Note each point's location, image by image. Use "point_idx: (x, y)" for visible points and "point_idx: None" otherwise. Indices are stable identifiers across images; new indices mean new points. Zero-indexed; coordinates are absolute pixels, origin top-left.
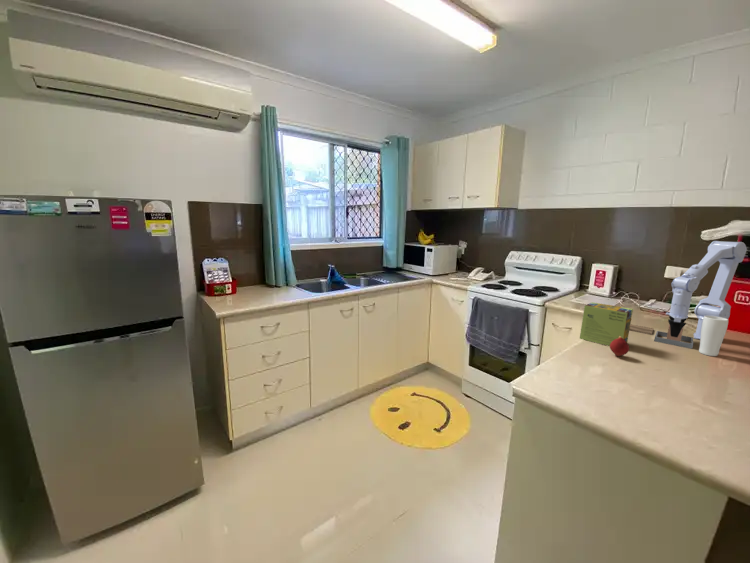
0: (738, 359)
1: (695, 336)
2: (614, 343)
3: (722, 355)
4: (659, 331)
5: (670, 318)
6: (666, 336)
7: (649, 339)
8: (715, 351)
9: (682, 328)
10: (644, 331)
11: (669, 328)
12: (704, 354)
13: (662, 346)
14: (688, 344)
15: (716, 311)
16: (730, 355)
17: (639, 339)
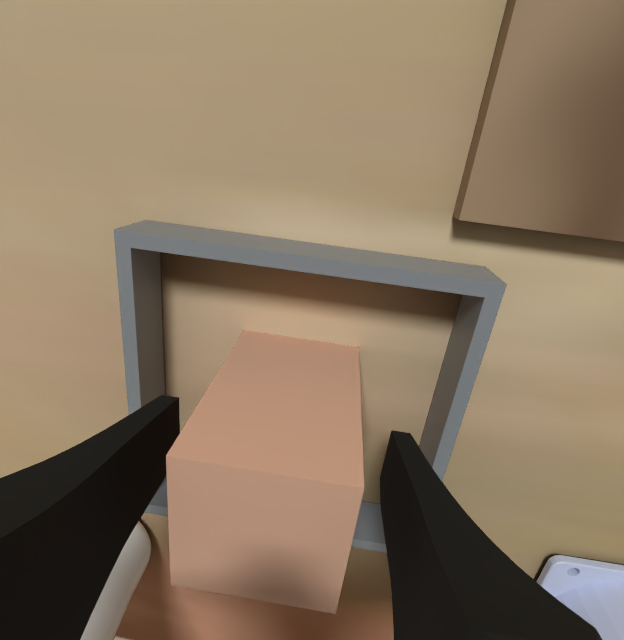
0: (142, 630)
1: (603, 577)
2: None
3: (156, 589)
4: (479, 310)
5: (452, 611)
6: (445, 359)
7: (180, 176)
8: None
9: (180, 581)
10: (495, 123)
11: (181, 438)
12: None
13: (5, 279)
14: None
15: None
16: (200, 622)
17: (67, 53)
